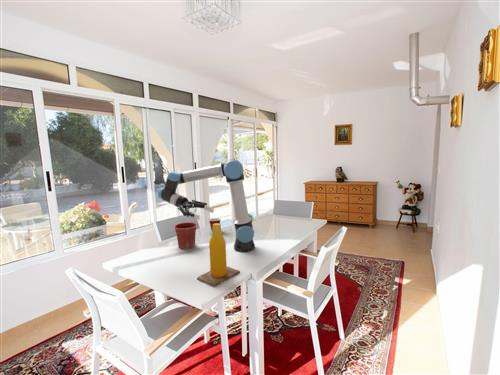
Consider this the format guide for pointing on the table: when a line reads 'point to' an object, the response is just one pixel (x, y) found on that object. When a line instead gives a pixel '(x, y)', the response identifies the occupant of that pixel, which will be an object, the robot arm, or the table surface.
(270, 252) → the table surface
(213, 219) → the plastic cup
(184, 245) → the flower pot
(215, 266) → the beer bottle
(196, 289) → the table surface
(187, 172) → the robot arm
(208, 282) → the walnut board
